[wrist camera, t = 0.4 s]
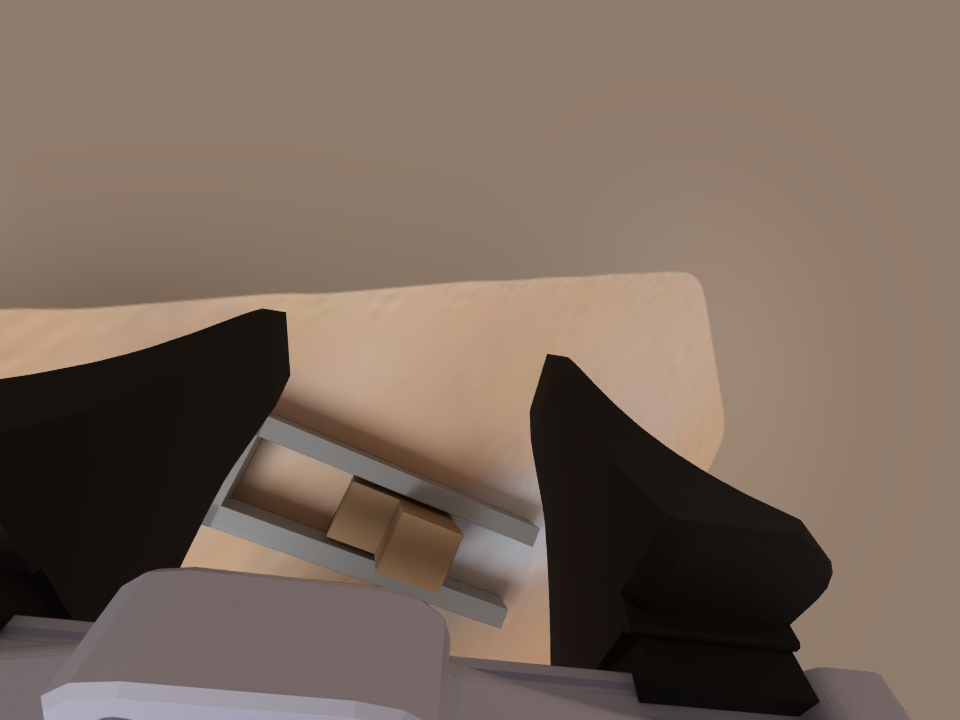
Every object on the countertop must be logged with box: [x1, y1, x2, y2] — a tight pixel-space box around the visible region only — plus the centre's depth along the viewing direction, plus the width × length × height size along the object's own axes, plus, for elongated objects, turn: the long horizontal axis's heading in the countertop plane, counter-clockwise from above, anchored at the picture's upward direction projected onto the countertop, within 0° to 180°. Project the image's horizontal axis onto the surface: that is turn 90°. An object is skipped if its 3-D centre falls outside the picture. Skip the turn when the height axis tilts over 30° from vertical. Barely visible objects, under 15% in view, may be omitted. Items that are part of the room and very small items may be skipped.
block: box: [327, 476, 463, 594], centre depth 34 cm, size 4×9×6 cm, turn 65°
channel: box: [202, 413, 539, 629], centre depth 35 cm, size 9×26×2 cm, turn 66°
